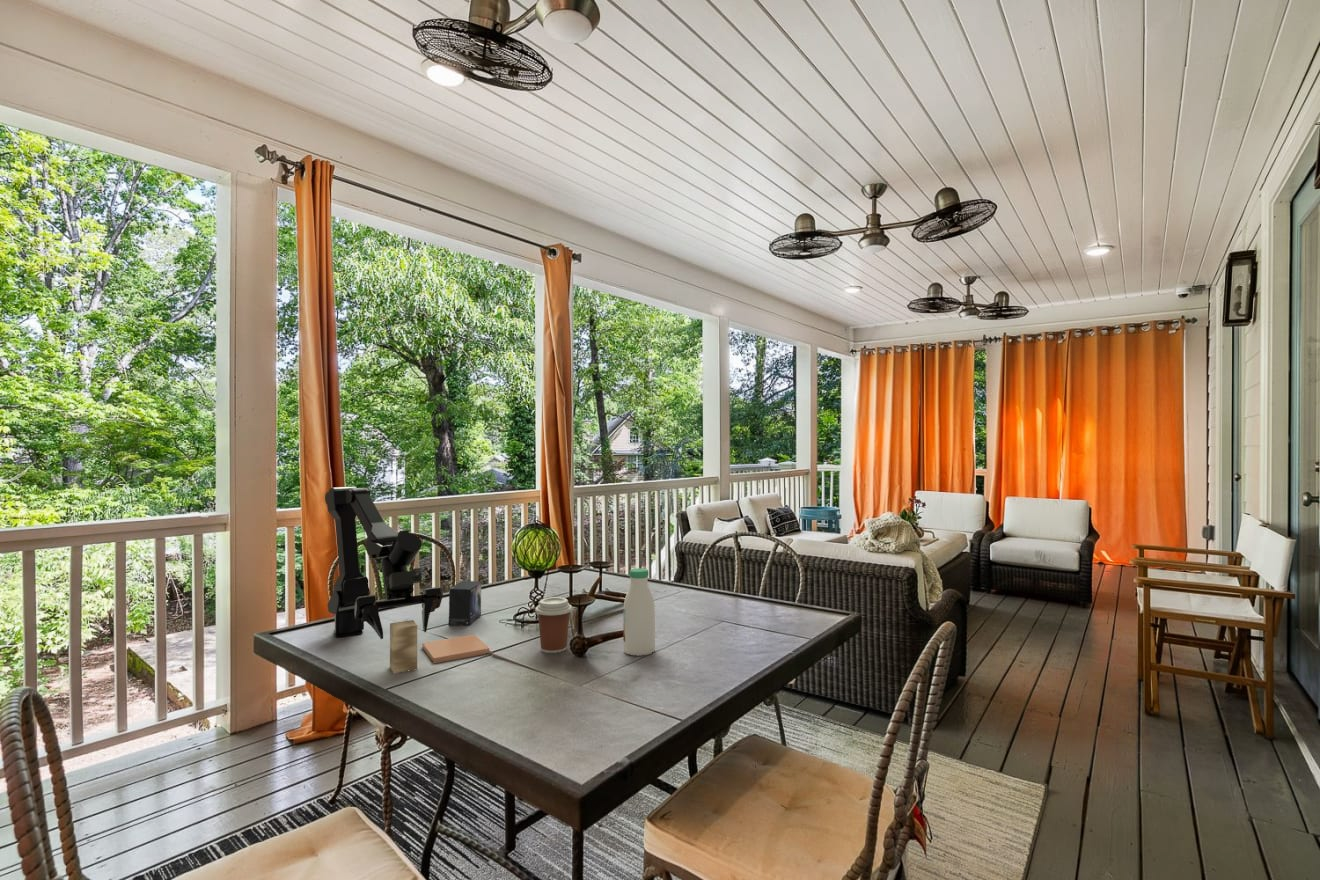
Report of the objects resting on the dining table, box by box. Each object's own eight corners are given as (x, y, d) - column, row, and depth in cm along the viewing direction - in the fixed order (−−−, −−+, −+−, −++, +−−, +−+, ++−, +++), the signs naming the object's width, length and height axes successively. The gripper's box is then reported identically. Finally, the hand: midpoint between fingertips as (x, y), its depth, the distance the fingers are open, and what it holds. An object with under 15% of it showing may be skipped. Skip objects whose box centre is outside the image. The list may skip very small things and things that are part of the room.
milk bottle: (661, 651, 152) (661, 569, 152) (639, 659, 146) (639, 574, 146) (639, 644, 157) (639, 565, 157) (616, 651, 151) (616, 569, 151)
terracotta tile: (433, 663, 143) (433, 658, 143) (422, 647, 154) (422, 642, 154) (489, 653, 150) (489, 648, 150) (474, 638, 161) (474, 634, 161)
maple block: (393, 673, 137) (393, 628, 137) (389, 667, 141) (389, 623, 141) (417, 669, 140) (417, 625, 140) (413, 662, 144) (413, 620, 144)
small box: (470, 626, 173) (470, 588, 173) (447, 626, 173) (447, 588, 173) (482, 615, 184) (482, 580, 184) (460, 615, 184) (460, 580, 184)
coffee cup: (528, 652, 151) (527, 603, 151) (547, 641, 159) (547, 594, 159) (561, 657, 148) (560, 606, 148) (578, 645, 156) (578, 597, 156)
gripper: (355, 561, 140) (361, 621, 130) (441, 553, 150) (452, 609, 140) (352, 589, 146) (357, 649, 137) (434, 580, 156) (444, 634, 147)
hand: (404, 634), depth 140 cm, fingers open, 9 cm apart
